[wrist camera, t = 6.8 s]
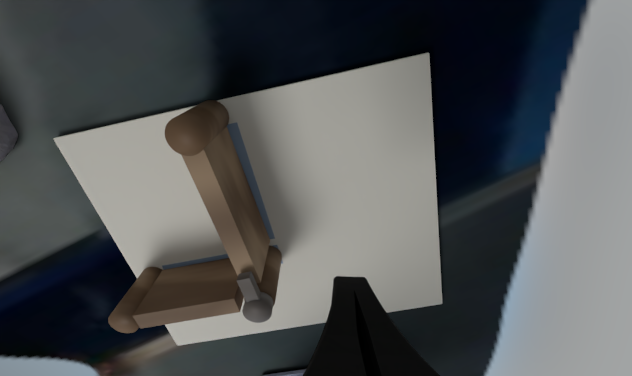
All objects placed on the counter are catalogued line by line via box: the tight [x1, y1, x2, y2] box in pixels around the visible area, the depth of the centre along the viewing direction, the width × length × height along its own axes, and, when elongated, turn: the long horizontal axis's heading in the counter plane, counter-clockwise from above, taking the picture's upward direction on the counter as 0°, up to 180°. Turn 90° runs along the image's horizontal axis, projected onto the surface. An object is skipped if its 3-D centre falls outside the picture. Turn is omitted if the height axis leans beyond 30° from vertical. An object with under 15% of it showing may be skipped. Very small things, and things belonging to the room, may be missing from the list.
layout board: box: [53, 53, 442, 346], centre depth 23 cm, size 20×24×1 cm
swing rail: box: [165, 100, 273, 323], centre depth 19 cm, size 13×2×5 cm, turn 14°
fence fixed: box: [108, 246, 282, 333], centre depth 22 cm, size 2×12×5 cm, turn 102°
